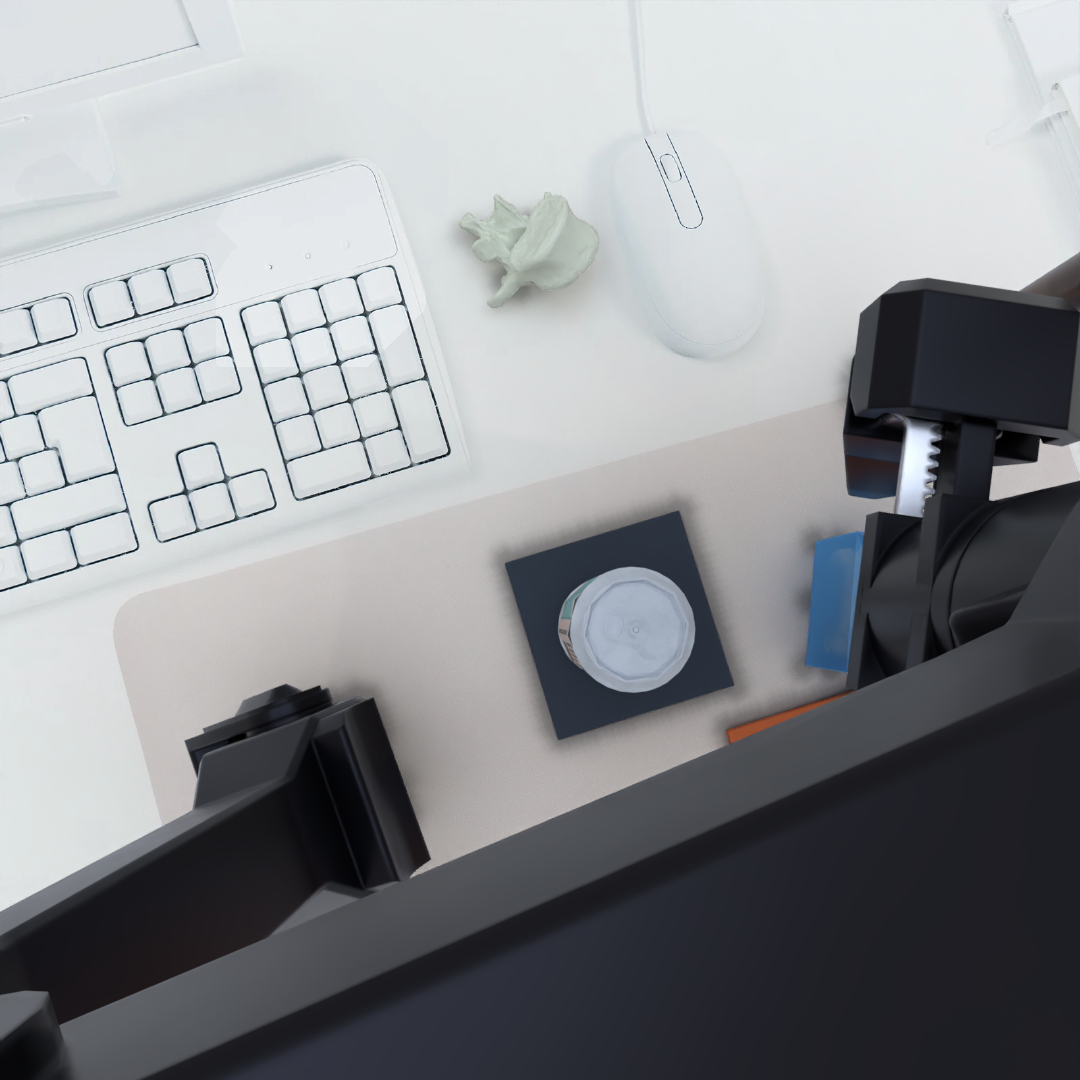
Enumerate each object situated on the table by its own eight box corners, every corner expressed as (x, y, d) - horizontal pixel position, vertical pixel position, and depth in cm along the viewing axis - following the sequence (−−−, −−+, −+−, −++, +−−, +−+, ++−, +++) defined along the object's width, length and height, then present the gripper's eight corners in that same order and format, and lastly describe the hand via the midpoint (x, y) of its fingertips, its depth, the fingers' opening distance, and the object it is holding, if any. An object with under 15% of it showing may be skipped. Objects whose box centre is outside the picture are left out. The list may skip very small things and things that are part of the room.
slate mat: (557, 739, 50) (558, 740, 50) (504, 563, 51) (504, 562, 50) (732, 684, 50) (734, 685, 50) (677, 511, 51) (679, 510, 51)
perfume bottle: (937, 553, 51) (1067, 535, 39) (929, 678, 51) (1057, 697, 39) (815, 541, 51) (908, 518, 39) (805, 665, 51) (896, 681, 39)
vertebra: (423, 273, 50) (472, 314, 53) (522, 287, 46) (570, 332, 48) (481, 159, 51) (526, 206, 54) (584, 162, 46) (627, 212, 49)
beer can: (644, 684, 50) (686, 706, 38) (548, 664, 50) (560, 680, 38) (663, 588, 50) (710, 579, 38) (568, 568, 50) (586, 553, 38)
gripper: (1409, 1111, 22) (1035, 903, 37) (1476, 254, 23) (1088, 400, 38) (887, 1037, 21) (731, 859, 37) (986, 180, 23) (796, 356, 38)
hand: (847, 615), depth 38 cm, fingers open, 9 cm apart
